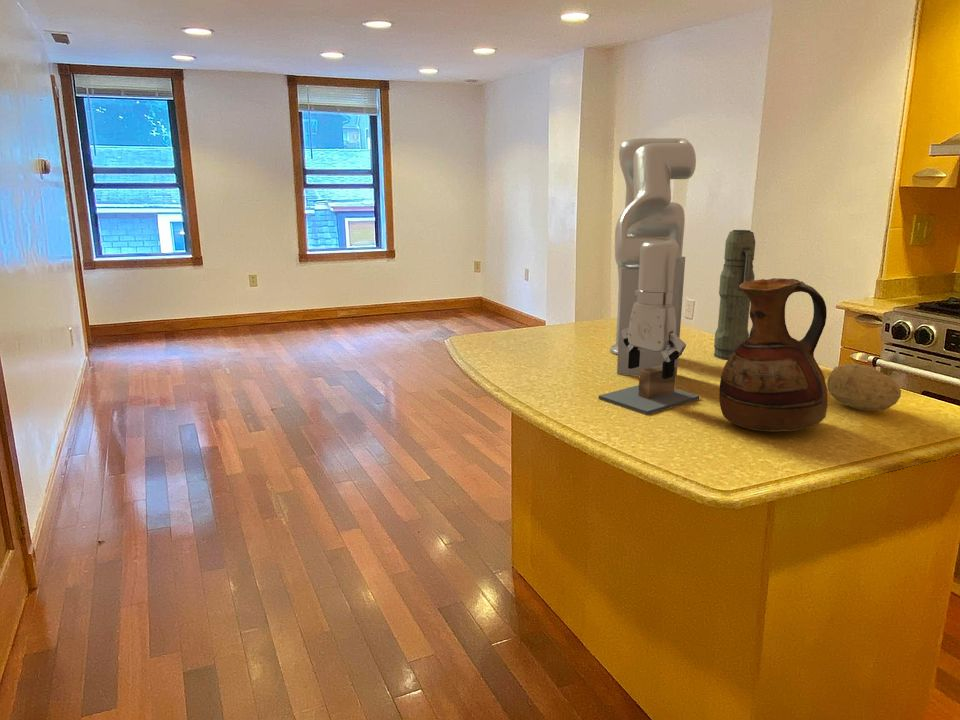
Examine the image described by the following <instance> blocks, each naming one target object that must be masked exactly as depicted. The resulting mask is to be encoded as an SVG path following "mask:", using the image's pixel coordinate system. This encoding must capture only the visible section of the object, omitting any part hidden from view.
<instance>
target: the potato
mask: <svg viewBox="0 0 960 720" xmlns="http://www.w3.org/2000/svg"><path fill="white" fill-rule="evenodd" d="M826 387H827V393H829V394H830V395H831V396H832V398H833V399H834V400H835V401H836V402H838V403H840V404H842V405H845V406H848V407H850V408H852V409H855V410H859V411H864V412H865V411H866V412H867V411H875V412H876V411H877V412H878V411H883V410H887V409H890V408H891V407H892V406H894V405H896V404H897V403H898V401H899V400H900V398H901V396H902V390H901V387H900V385H899V384H898V382H897V381H896V380H895V379H893V378H892V377H890V376H889V375H887V374H886V373H884V372H881V371H879V370H877V368H874V367H873V366H871V365H864V364H859V363H843V364H840V365H838V366H837V365H836V366H835V367H834V368H833V369H832V370H831V372H830V373H829V376H828V379H827V381H826Z"/></svg>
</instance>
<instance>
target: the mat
mask: <svg viewBox="0 0 960 720" xmlns="http://www.w3.org/2000/svg"><path fill="white" fill-rule="evenodd" d="M638 392H639V384H637V385H634V386H630V387H627V388H622V389H619V390H614V391H611V392H607V393H603V394H600V395H598V400H601V401H604V402H607V403H610V404H613V405H614V406H615V405H616V406H618V407H622V408H625V409H628V410H631V411H634V412H636V413H640V414H642V415H645V416H648V415H652V414H655V413H658V412H661V411H665V410H669V409H671V408H676V407H679V406H682V405H684V404H688V403H691V402H694V401H698V400H700V395H698V394H694V393H691V392H688V391H684V390H681V389H676V388H675V391H674V392H673V393H669V394H665V395H662V396H658V397H655V398H651V399H646V398H643V397H640V396H638Z"/></svg>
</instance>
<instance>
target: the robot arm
mask: <svg viewBox="0 0 960 720" xmlns="http://www.w3.org/2000/svg"><path fill="white" fill-rule="evenodd" d="M618 161H619V164H620V169H621V171H622V174H623V178H624V181H625V182H624V183H625V203H624V204H625V205H624V210H623V211H622V212H621V214H620V215H619V218H618V219H617V222H616V225H615V229H614V259H615V262H616V265H617V272H618V275H617V276H618V294H617V315H616V316H617V317H616V333H615V334H616V336H615V344H612V345H611V346H610V347H609V348H610V349H609V351H610V353H613V354H615V355H617V356H618V341H619V321H620V301H621V280H622V269H629V270H639V280H638V290H636V291H635V295H637V296H638V297H637V302H634V305H633V309H632V313H631V318H630V324H629V327H628V328H626V329H623V330H622V331H621V333H622V336H623V338H624V340H623V341H624V343H625V345H626V347H627V348H626V349H627V351H628V352H629V358H628V368H629V369H633V368H636V367H639V363H640V350H638V348H642V349H646V350H650V351H654V352H661V353H662V355H663V357H664V358H665V360H666V361H663V367H662V378H663V379H667V378H671V377H673V374H674V365H675V360H677V359H678V360H679V357H681V356H682V355H683V353H684V350H685V349H686V347H687V344H686V342H684V341H683V340H682V339H681V337H680V338H679V337H678V336H676V317H675V309H674V306H673V305H672V301H673V287H674V273H675V265H676V263H677V262H678V261H679V257H683V249H684V248H683V247H684V246H683V245H684V238H685V237H684V236H685V235H684V234H685V226H686V225H685V221H686V220H685V219H686V217H685V211H684V208H683V206H682V205H681V204H680V203H678V202H674V201H672V194H671V193H672V190H671V180H689V179H691V178H692V177H693V175H694V173H695V171H696V165H697V157H696V151H695V148H694V146H693V144H692V143H691V142H690V141H689V140H688V139H686V138H683V137H681V138H680V137H678V138H675V137H674V138H673V137H670V138H669V137H667V138H665V137H664V138H663V137H662V138H658V137H657V138H656V137H646V138H644V137H642V138H641V137H640V138H631V139H627V140H625V141H623V142H622V143H621V144H620V146H619V150H618ZM675 345H676V350H675V351H674V349H673V348H674V346H675ZM667 351H668V352H669V353H668V352H667ZM669 354H670V355H669Z"/></svg>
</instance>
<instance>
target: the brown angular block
mask: <svg viewBox="0 0 960 720" xmlns="http://www.w3.org/2000/svg"><path fill="white" fill-rule="evenodd" d="M662 367H663V365H660V366H656V367H652V368H648V369H644V370H640V375H639V376H638V385H639V392H638V396H640V397H643V398H646V399H651V398H655V397H658V396H662V395H665V394H669V393H673V392H674V391H675V389H676V388H675V387H676V376H677V375H676V367H675V366H674V374H673V377H671V378H667V379H663V378H662Z"/></svg>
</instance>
